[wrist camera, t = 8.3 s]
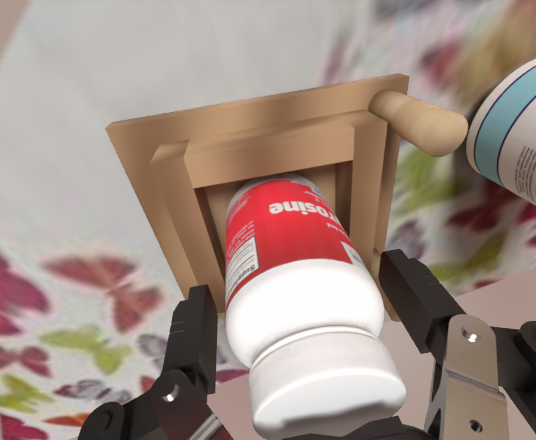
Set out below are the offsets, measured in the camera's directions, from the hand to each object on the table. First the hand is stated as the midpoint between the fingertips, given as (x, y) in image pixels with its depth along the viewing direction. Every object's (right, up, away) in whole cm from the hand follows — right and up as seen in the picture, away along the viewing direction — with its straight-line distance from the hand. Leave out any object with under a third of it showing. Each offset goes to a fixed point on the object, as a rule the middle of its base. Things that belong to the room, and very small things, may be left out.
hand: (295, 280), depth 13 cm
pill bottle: (-1, +3, +5) cm, 6 cm away
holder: (-1, +4, +5) cm, 7 cm away
